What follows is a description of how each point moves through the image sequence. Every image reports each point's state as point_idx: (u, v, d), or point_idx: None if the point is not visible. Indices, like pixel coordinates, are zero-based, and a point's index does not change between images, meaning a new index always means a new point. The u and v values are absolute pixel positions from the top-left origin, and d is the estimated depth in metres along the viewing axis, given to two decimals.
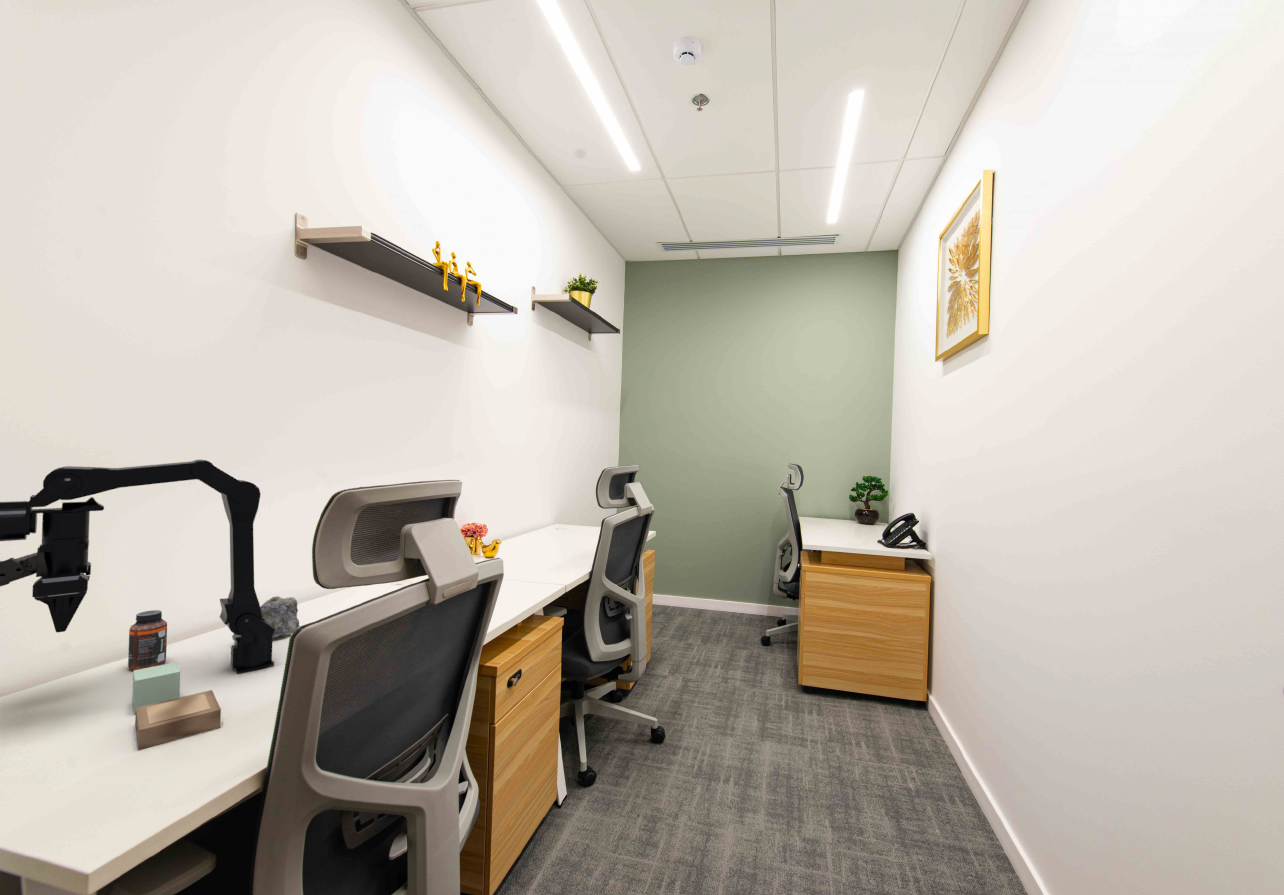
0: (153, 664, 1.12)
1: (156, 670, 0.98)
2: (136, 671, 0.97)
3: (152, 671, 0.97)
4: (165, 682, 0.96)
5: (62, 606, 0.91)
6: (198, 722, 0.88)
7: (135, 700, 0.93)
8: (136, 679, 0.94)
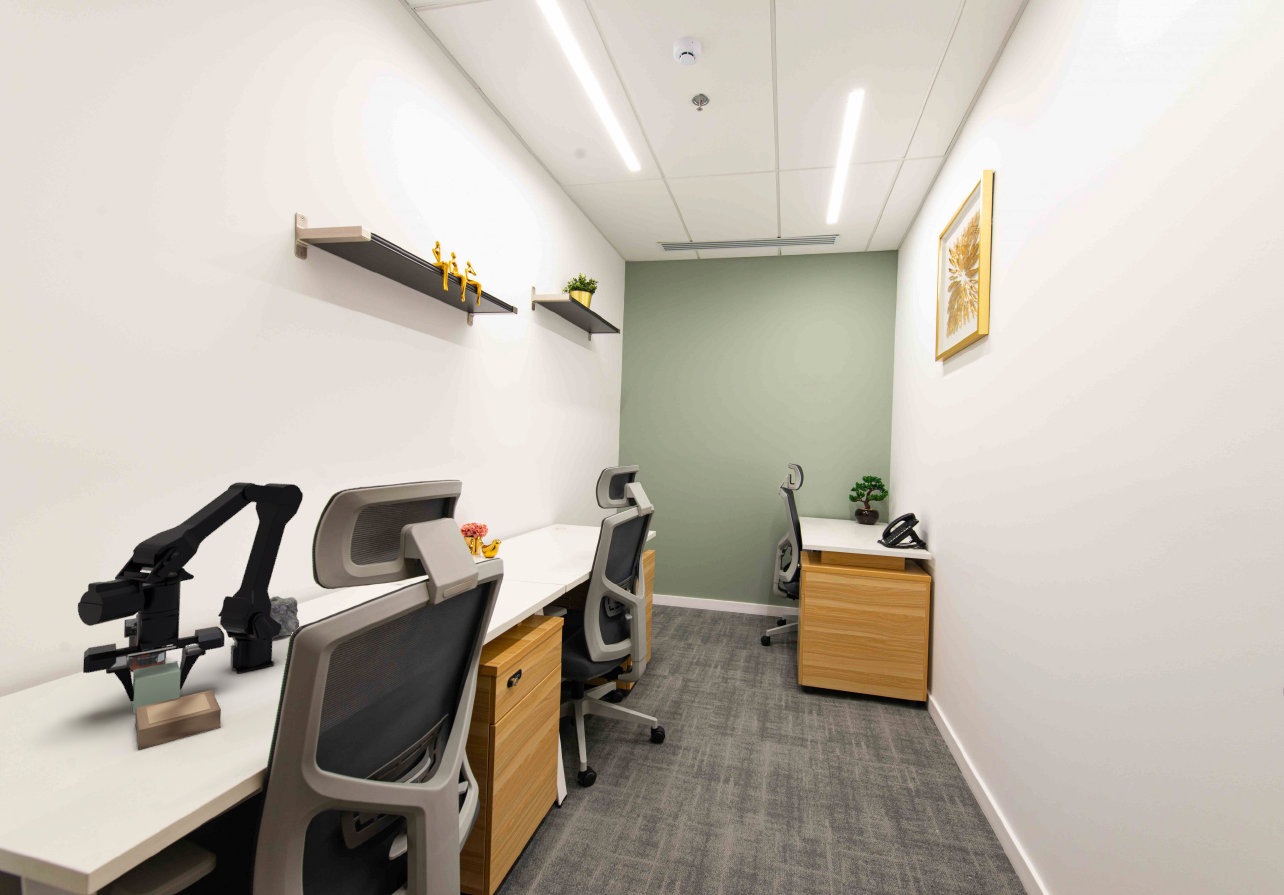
0: (153, 664, 1.12)
1: (156, 669, 0.98)
2: (136, 670, 0.97)
3: (152, 670, 0.97)
4: (165, 681, 0.96)
5: None
6: (198, 722, 0.88)
7: (135, 699, 0.93)
8: (136, 678, 0.94)
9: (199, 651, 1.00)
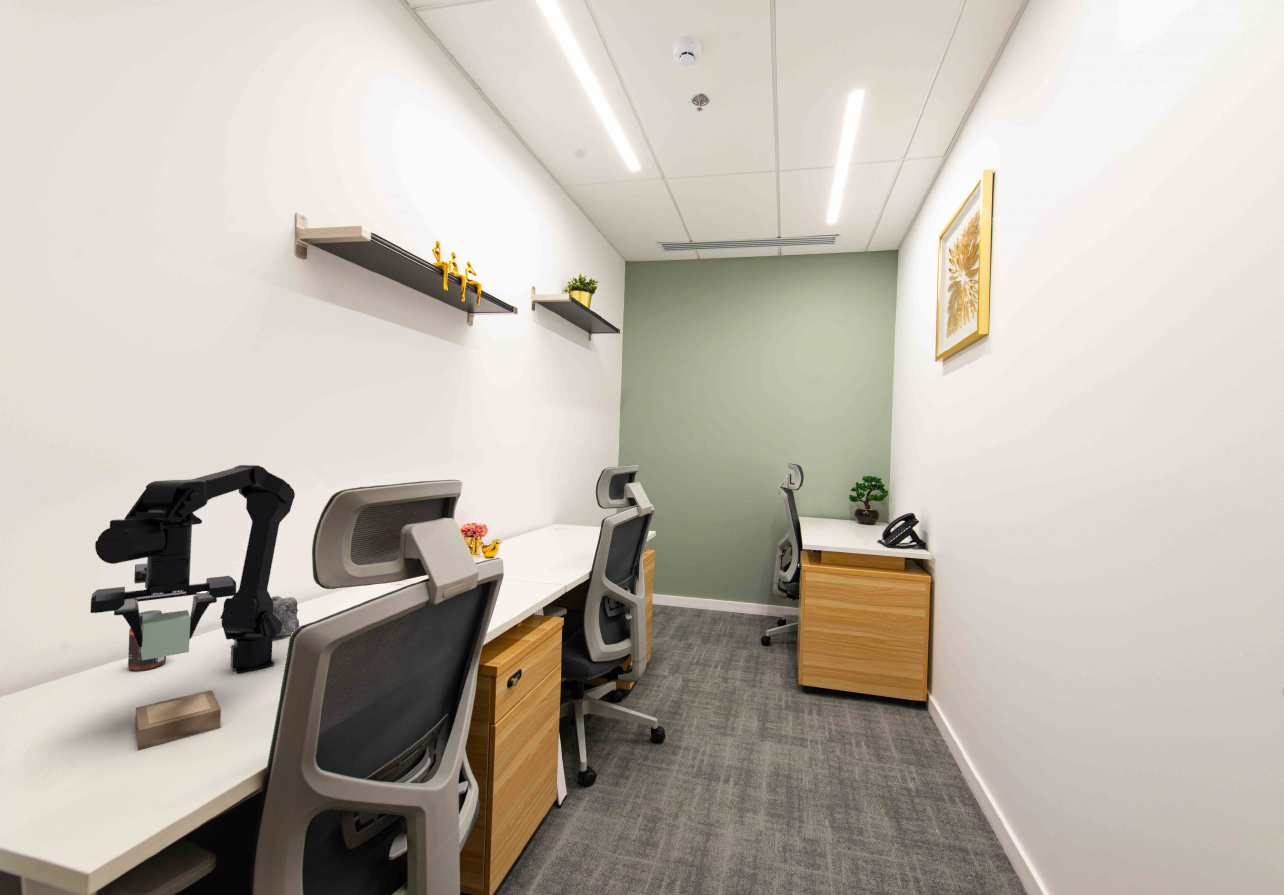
0: (153, 664, 1.12)
1: (166, 616, 0.94)
2: (145, 616, 0.93)
3: (162, 616, 0.94)
4: (174, 627, 0.92)
5: None
6: (198, 722, 0.88)
7: (143, 644, 0.90)
8: (145, 623, 0.90)
9: (210, 599, 0.96)
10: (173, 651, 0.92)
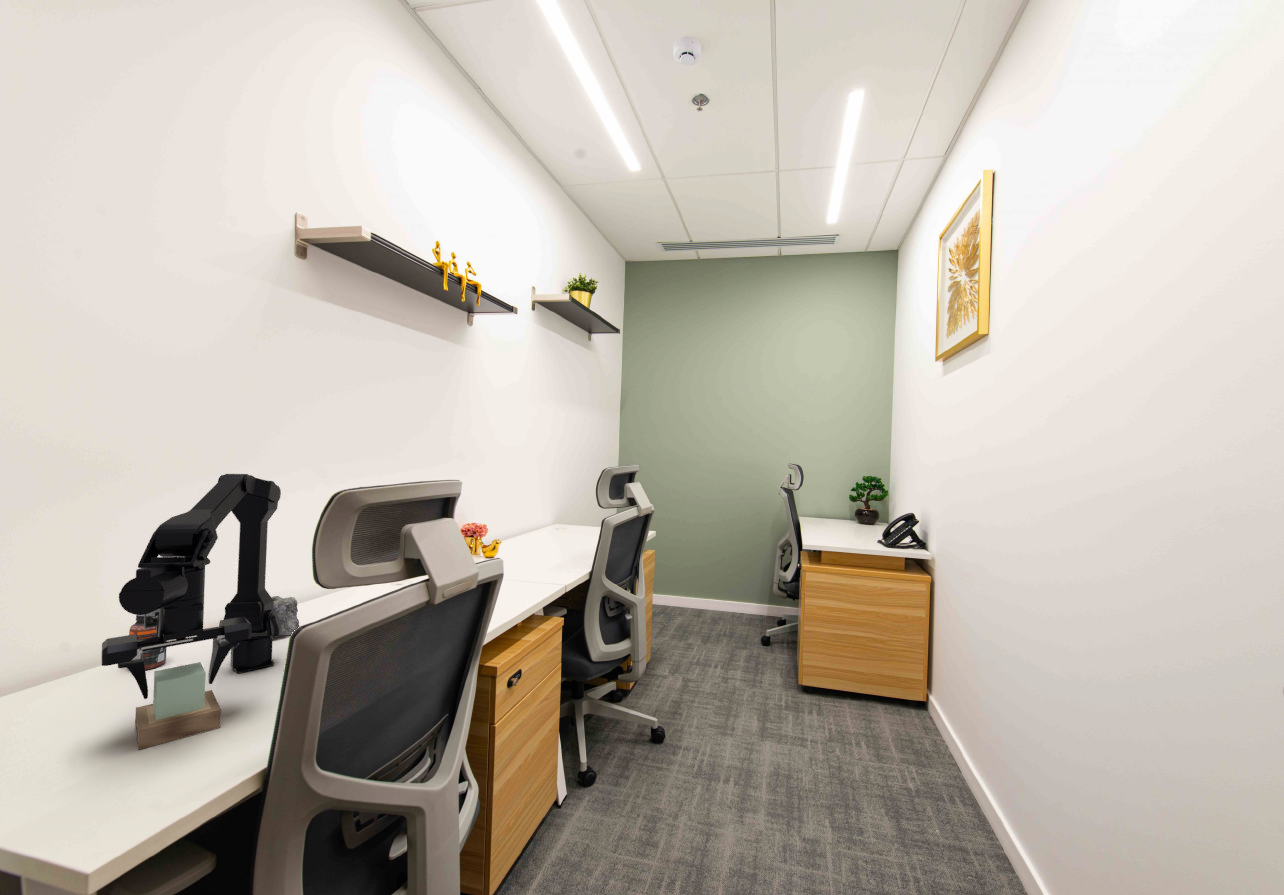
0: (153, 664, 1.12)
1: (179, 671, 0.90)
2: (157, 672, 0.89)
3: (175, 671, 0.90)
4: (189, 683, 0.88)
5: None
6: (198, 722, 0.88)
7: (157, 703, 0.86)
8: (158, 681, 0.86)
9: (232, 642, 0.93)
10: (188, 708, 0.88)
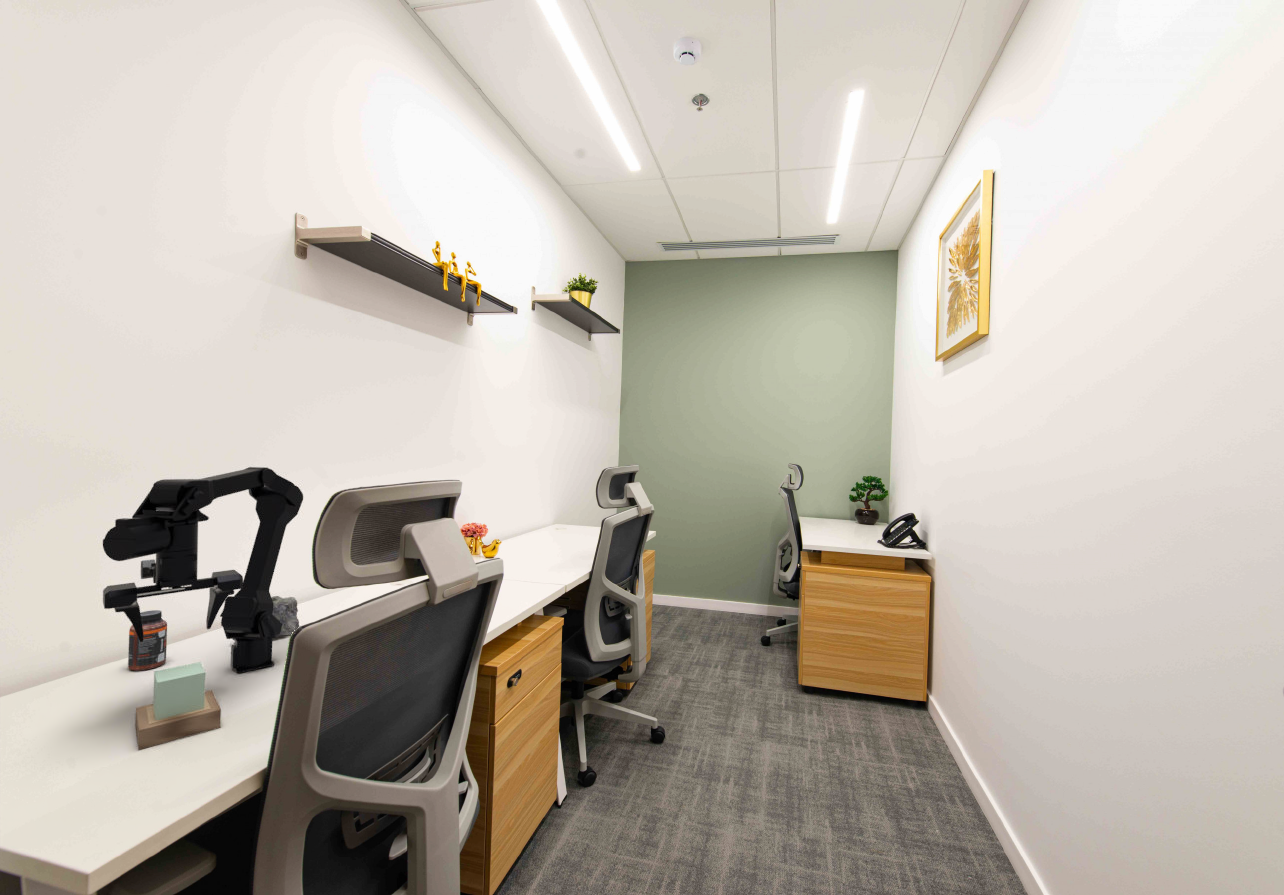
0: (153, 664, 1.12)
1: (179, 671, 0.90)
2: (157, 672, 0.89)
3: (175, 671, 0.90)
4: (189, 683, 0.88)
5: None
6: (198, 722, 0.88)
7: (157, 703, 0.86)
8: (158, 681, 0.86)
9: (227, 591, 1.01)
10: (188, 708, 0.88)
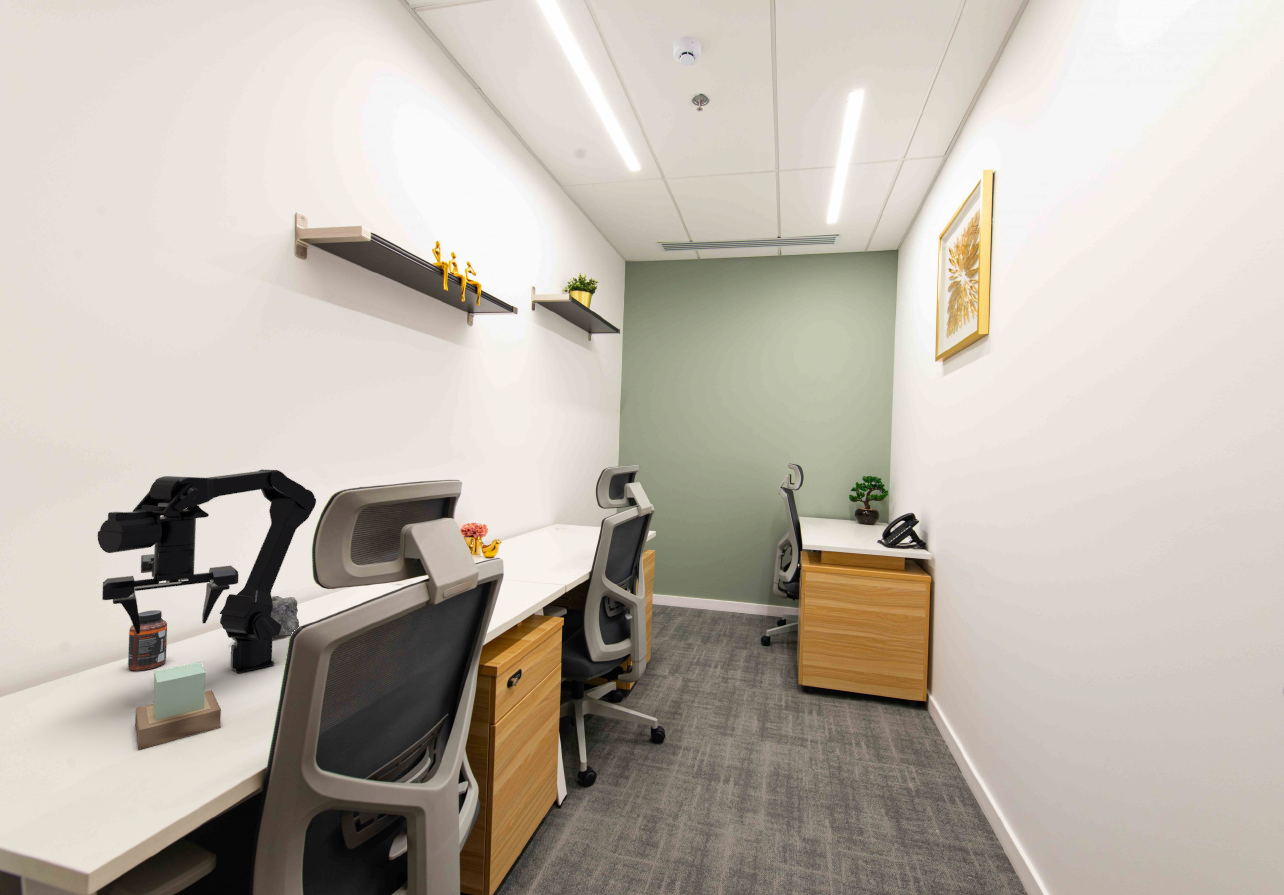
0: (153, 664, 1.12)
1: (179, 671, 0.90)
2: (157, 672, 0.89)
3: (175, 671, 0.90)
4: (189, 683, 0.88)
5: None
6: (198, 722, 0.88)
7: (157, 703, 0.86)
8: (158, 681, 0.86)
9: (223, 586, 1.03)
10: (188, 708, 0.88)
